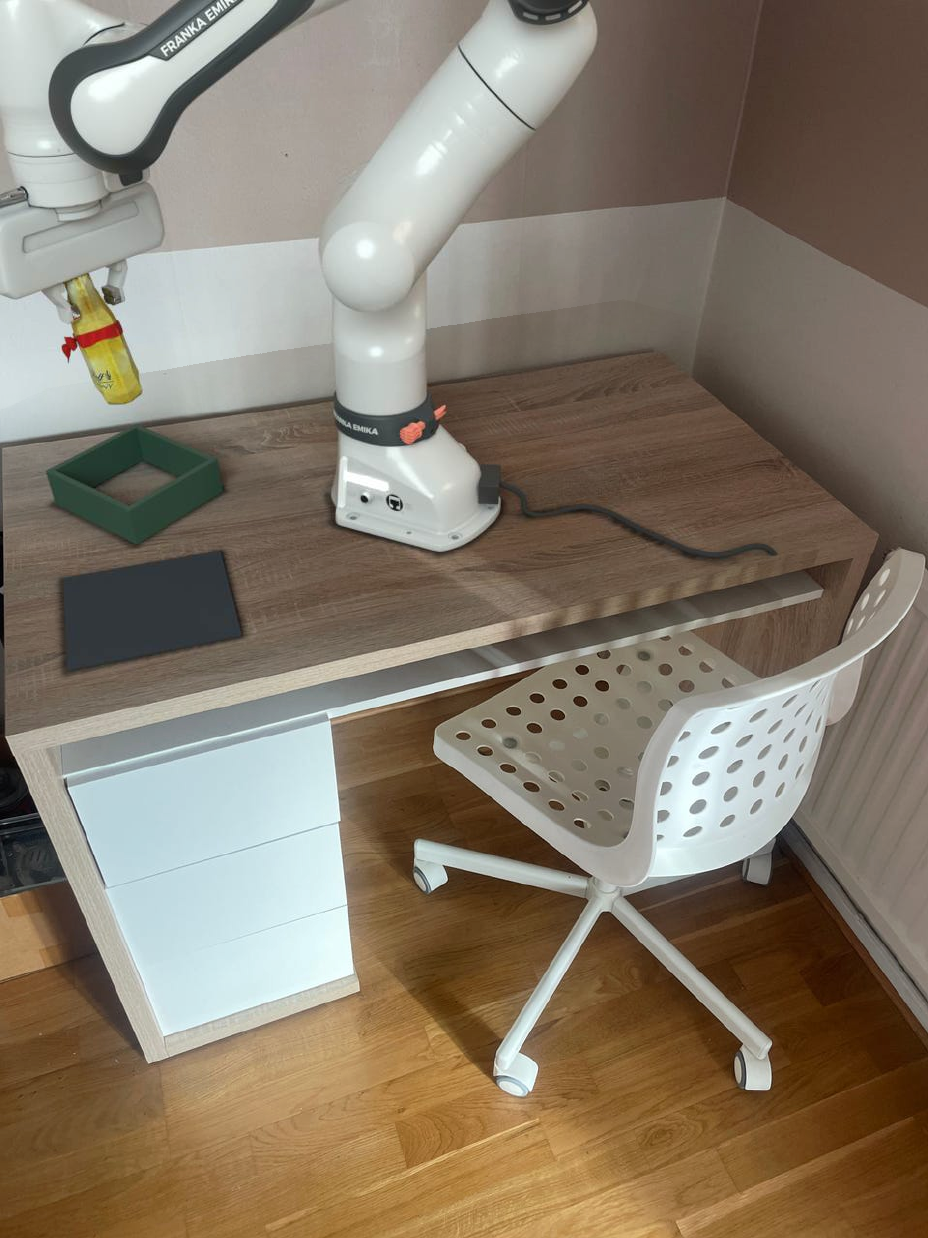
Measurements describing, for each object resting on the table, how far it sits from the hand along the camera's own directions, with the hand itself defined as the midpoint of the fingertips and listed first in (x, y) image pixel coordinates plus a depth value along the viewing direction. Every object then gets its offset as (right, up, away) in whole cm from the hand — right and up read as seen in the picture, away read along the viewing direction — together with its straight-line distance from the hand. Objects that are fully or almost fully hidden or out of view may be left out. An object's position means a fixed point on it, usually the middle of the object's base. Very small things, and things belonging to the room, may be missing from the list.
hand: (93, 311), depth 105 cm
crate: (-2, -18, +21) cm, 27 cm away
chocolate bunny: (0, -7, +6) cm, 9 cm away
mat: (+5, -32, +4) cm, 33 cm away
